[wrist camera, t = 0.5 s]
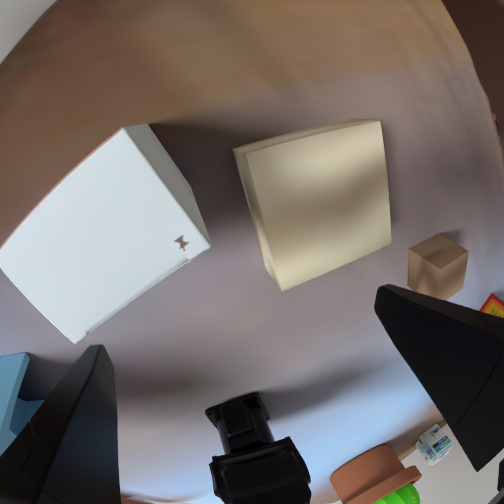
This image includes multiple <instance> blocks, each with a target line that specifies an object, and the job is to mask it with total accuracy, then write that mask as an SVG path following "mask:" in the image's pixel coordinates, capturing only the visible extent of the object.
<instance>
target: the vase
mask: <svg viewBox="0 0 504 504" xmlns="http://www.w3.org/2000/svg"><path fill="white" fill-rule="evenodd" d="M29 361H30V357H29V356H28V355H27V353H26V352H24V353H19V354H14V355H8V356H3V357H0V456H1V455H2V453H3V452H4V451H5V450H6V449H7V448H8V446H9V445H10V444H11V443H12V442H13V440H14V439H15V438H16V437H17V435H18V434H19V433H20V431H21V430H22V429H23V427H24V426H25V425H26V423H27V422H28V421H29V422H30V418H31V417H32V416H33V414H34V413H35V412H36V410H37V409H38V408H39V407H40V405H41V404H42V403H43V401H44V400H37V401H24V400H22V399H20V398H18V397H17V396H18V392H19V389H20V386H21V383H22V380H23V377H24V374H25V371H26V369H27V366H28V363H29Z"/></svg>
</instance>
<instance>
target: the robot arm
mask: <svg viewBox="0 0 504 504" xmlns="http://www.w3.org/2000/svg"><path fill="white" fill-rule="evenodd" d="M374 309H375V313H376V314H377V316H378V318H379V319H380V321H381V323H382V325H383V326H384V328H385V330H386V331H387V333H388V335H389V337H390V338H391V340H392V342H393V344H394V345H395V347H396V348H397V350H398V351H399V352H400V354H401V355H402V357H403V358H404V359H405V361H406V362H407V364H408V365H409V367H410V368H411V370H412V371H413V372H414V374H415V375H416V377H417V378H418V380H419V381H420V383H421V384H422V386H423V387H424V389H425V390H426V392H427V393H428V395H429V396H430V398H431V399H432V401H433V402H434V404H435V405H436V407H437V408H438V410H439V411H440V413H441V414H442V416H443V418H444V419H445V421H446V422H447V424H448V426H449V427H450V429H451V430H452V432H453V434H454V435H455V437H456V439H457V440H458V442H459V444H460V445H461V447H462V449H463V450H464V452H465V454H466V455H467V457H468V459H469V460H470V462H471V464H472V466H473V467H474V469H475V470H476V472H478V471H479V470H480V469H482V468H483V467H484V466H485V465H486V464H487V463H488V462H490V461H491V460H492V459H493V458H494V457H495V456H496V455H497V454H498V453H499V452H500V451H501V450H502V449H503V448H504V318H503V317H499V316H495V315H491V314H488V313H484V312H481V311H478V310H474V309H471V308H468V307H465V306H461V305H458V304H455V303H451V302H448V301H445V300H441V299H438V298H435V297H431V296H428V295H425V294H421V293H418V292H415V291H411V290H408V289H405V288H401V287H398V286H395V285H391V284H386V285H383V286H380V287H379V288H378V290H377V295H376V300H375V305H374ZM205 414H206V416H207V417H208V418H209V420H210V421H211V422H212V423H213V425H214V426H215V427H216V428H217V429H218V431H219V434H220V438H221V442H222V445H223V449H224V452H225V455H221V456H213V457H212V460H213V461H212V462H211V463H210V464H209V466H210V470H211V474H212V480H213V489H214V494H215V496H217V497H219V498H221V500H222V501H224V503H225V504H310V499H311V490H310V488H309V486H308V484H309V483H311V479H310V475H309V471H308V469H307V466H306V464H305V462H304V460H303V458H302V457H301V455H300V453H299V452H298V450H297V448H296V447H295V445H294V443H293V442H292V440H291V438H290V437H289V436H288V437H285V438H284V439H282V440H278V441H275V440H274V437H273V435H272V433H271V430H270V428H269V425H268V423H267V421H268V420H269V419H270V417H269V415H268V413H267V411H266V409H265V407H264V405H263V402H262V400H261V398H260V396H259V394H258V393H253V394H250V395H247V396H245V397H242V398H239V399H236V400H234V401H231V402H228V403H225V404H222V405H219V406H216V407H213V408H210V409H207V410H206V411H205ZM497 490H498V491H499V493H498V494H497V495H496V496H495V497H494V498H493V499H492V500H491V501H490V502H489V503H488V504H504V459H503V460H502V461H501V462H500V463H499V476H498V486H497ZM0 504H121V496H120V483H119V467H118V435H117V404H116V393H115V381H114V368H113V365H112V362H111V360H110V358H109V356H108V353H107V351H106V349H105V347H104V346H103V345H102V344H96V345H90V346H89V347H88V348H87V349H86V350H85V352H84V353H83V354H82V355H81V356H80V357H79V359H78V360H77V361H76V362H75V363H74V365H73V366H72V367H71V368H70V369H69V371H68V372H67V373H66V374H65V375H64V377H63V378H62V379H61V380H60V382H59V383H58V384H57V385H56V386H55V388H54V389H53V390H52V391H51V393H50V394H49V395H48V396H47V398H46V399H45V400H44V401H43V403H42V404H41V405H40V407H39V408H38V409H37V410H36V412H35V413H34V414H33V416H32V417H31V418H30V422H29V421H28V422H27V423H26V425H25V426H24V427H23V429H22V430H21V431H20V433H19V434H18V435H17V437H16V438H15V439H14V440H13V442H12V443H11V444H10V445H9V446H8V448H7V449H6V450H5V451H4V452H3V453H2V455H1V456H0Z"/></svg>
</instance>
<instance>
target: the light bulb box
mask: <svg viewBox="0 0 504 504" xmlns="http://www.w3.org/2000/svg"><path fill="white" fill-rule="evenodd" d="M415 446H416V447H417V449H418V450H419V452H420V453H421V454H422V456H423V457H424V458H425V460H426V461H427V462H428V464H429V465H430V466H432V465H433V464H435V463H436V462H438V461H439V460H440V459H442V458H443V457H445V456H446V455H447V453H448V452H449V451H450V450H451V448H452V447H453V446H454V444H453V443H452V442H451V441H450V440H449V438H448V437H447V436H446V435H445V433H444V432H443V431H442V430H441V428H440V427H439V426H438V425H437V423H436V424H435V425H433V426H432V427H431V428H429V429H428V430H426V431H425V432H424V433H422V434H421V435H420V437H419V439H418V441H417V442H416V444H415Z"/></svg>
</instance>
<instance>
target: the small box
mask: <svg viewBox="0 0 504 504" xmlns="http://www.w3.org/2000/svg"><path fill="white" fill-rule="evenodd" d="M211 247H212V244H211V240H210V237H209V235H208V232H207V229H206V226H205V224H204V221H203V219H202V216H201V214H200V211H199V209H198V206H197V203H196V200H195V197H194V195H193V192H192V189H191V186H190V185H189V183H188V182H187V180H186V179H185V178H184V176H183V175H182V173H181V172H180V170H179V169H178V167H177V166H176V165H175V163H174V162H173V160H172V159H171V157H170V156H169V154H168V153H167V152H166V150H165V149H164V147H163V146H162V144H161V143H160V141H159V140H158V139H157V137H156V136H155V134H154V133H153V131H152V130H151V128H150V127H149V126H148V124H140V125H133V126H126V127H121V128H120V129H119V130H118V131H116V132H115V133H114V134H113V135H111V136H110V137H109V138H108V139H106V140H105V141H104V142H103V143H101V144H100V145H99V146H98V147H97V148H95V149H94V150H93V151H92V152H91V153H90V154H88V155H87V156H86V157H85V158H84V159H83V160H82V161H80V162H79V163H78V164H77V165H76V166H75V167H74V168H73V169H72V170H70V171H69V172H68V173H67V174H66V175H65V176H64V177H63V178H62V179H61V180H60V181H59V182H58V183H57V184H56V185H55V186H54V187H53V188H52V189H51V190H50V191H49V192H48V193H47V194H46V195H45V196H44V197H43V198H42V199H41V200H40V201H39V202H38V203H37V204H36V205H35V206H34V207H33V209H32V210H31V211H30V212H29V213H28V214H27V215H26V216H25V218H24V219H23V220H22V221H21V222H20V223H19V225H18V226H17V227H16V228H15V229H14V230H13V232H12V233H11V234H10V235H9V236H8V238H7V239H6V240H5V241H4V243H3V244H2V245H1V247H0V268H1V269H2V270H3V272H4V273H5V274H6V275H7V276H8V278H9V279H10V280H11V281H12V282H13V283H14V284H15V286H16V287H17V288H18V289H19V290H20V291H21V292H22V293H23V294H24V295H25V297H26V298H27V299H28V300H29V301H30V302H31V303H32V304H33V305H34V306H35V307H36V308H37V309H38V310H39V311H40V312H41V313H42V314H43V315H44V316H45V317H46V318H47V319H48V320H49V321H50V322H51V323H52V324H53V325H54V326H55V327H57V328H58V329H59V330H60V331H61V332H62V333H63V334H64V335H65V336H66V337H67V338H69V339H70V340H71V341H72V342H73V343H75V344H76V343H79V342H80V341H81V340H82V339H83V338H84V337H86V336H87V335H88V334H89V333H90V332H91V331H93V330H94V329H95V328H96V327H98V326H99V325H100V324H102V323H103V322H104V321H106V320H107V319H108V318H110V317H111V316H112V315H114V314H115V313H116V312H118V311H119V310H120V309H122V308H123V307H125V306H126V305H127V304H129V303H130V302H131V301H133V300H134V299H136V298H137V297H138V296H140V295H141V294H142V293H144V292H145V291H147V290H148V289H150V288H151V287H152V286H154V285H155V284H156V283H158V282H159V281H161V280H162V279H164V278H165V277H167V276H168V275H170V274H171V273H173V272H174V271H176V270H177V269H179V268H180V267H181V266H183V265H184V264H186V263H188V262H190V261H192V260H193V259H195V258H196V257H198V256H199V255H201V254H203V253H204V252H206V251H208V250H209V249H211Z"/></svg>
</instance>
